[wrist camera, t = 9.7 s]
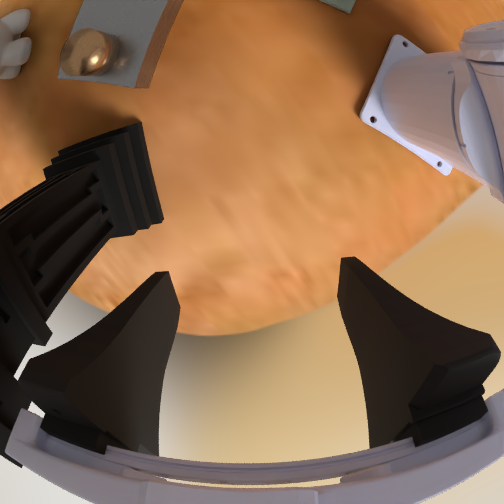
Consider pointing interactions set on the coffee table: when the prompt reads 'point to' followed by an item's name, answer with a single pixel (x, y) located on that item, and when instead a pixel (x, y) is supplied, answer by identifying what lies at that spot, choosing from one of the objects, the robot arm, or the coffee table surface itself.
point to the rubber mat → (341, 4)
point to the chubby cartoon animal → (14, 43)
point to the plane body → (117, 41)
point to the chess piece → (64, 242)
